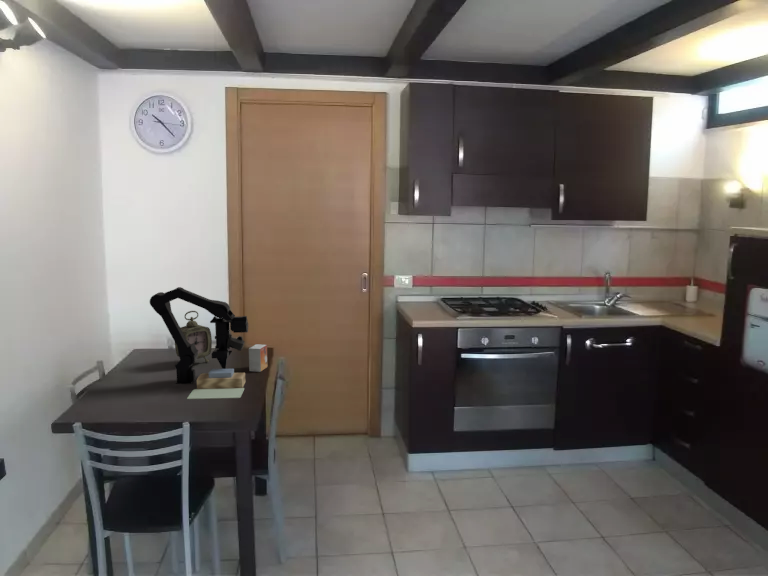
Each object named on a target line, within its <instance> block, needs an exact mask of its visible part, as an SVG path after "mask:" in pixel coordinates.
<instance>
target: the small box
mask: <svg viewBox="0 0 768 576" xmlns="http://www.w3.org/2000/svg"><path fill="white" fill-rule="evenodd" d="M267 368H268V345H267V344H258V343H257V344H256V343H255V344H254V345H253V346H250V347H249V348H248V369H249V372H257V373H259V372H260V373H261V372H262V371H263V370H265V369H267Z"/></svg>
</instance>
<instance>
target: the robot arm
mask: <svg viewBox="0 0 768 576" xmlns="http://www.w3.org/2000/svg"><path fill="white" fill-rule="evenodd" d="M177 299H180V300H182V301H184V302H187V303H190V304H192V305H195V306H197V307H200V308H201V309H204V310H206V311H207V312H208V313H210V314H211V315H212V316H213V317H212V319H211V320H210V321H209V323H210V324H214V326H215V328H214V329H215V336H214V339H215V346H214V350H213V351H211V352H212V353H211V359H216V360H217V362H218V363H219V365H220V367H221V369H227V364H228V358H229V356H230V355H231V354H232V352H233V350H230V349H231V348H232V349H234V350H237V351H239V352H240V351H242V350H243V348H244V345H245V340H244V339H243V338H244V337H243V336H240V335H238V336H237V337H233V336H232V334H231V332H233V333H235V334H237V333H249V321H248V316H247V315H241V316H236V315H235V314H234V312H233V311H232V310H231V307H230V305H229V304H228V303H227V302H226V301H221V300H214V299H209V298H207V297H205V296H203V295H199V294H197V293H194V292H192V291H190V290H187V289H184V287H181V286H180V287H176V288H175V289H172V290H169V291H166V292H160V291H159V292H158V293H155V294H153V295H152V296H151V297H150V299H149V305H150V307H151V308H152V309H153V311H154V312H155V313H156V314H158V315H159V316H160V317H161V319H162V321H163V323H164V324H165V326H166V328H167V330H168V332H169V334H170V335H171V337H172V339H173V341H174V344H175V343H176V345H177V348H178V354H179V361H178V362H177V363H175V365H174V367H175V370H176V382H175V384H177V385H178V384H179V385H180V384H182V385H183V384H193V382H194V381H195V380H196V370H195V369H194V363H195V361H197V360H198V359H197V357H198V350H197V349H196V347H195V344H194V343H192V344H190V343H189V342H188V341H187V340H186V338H185V336H184V334H183V332H182V330H181V328H180V327H181V326H180V324H179V323H178V321H177V319H176V317H175V315H174V313H173V312H172V311H173V310H172V305H171V302H172V301H174V300H177ZM230 330H231V331H230Z"/></svg>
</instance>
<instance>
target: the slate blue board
mask: <svg viewBox="0 0 768 576" xmlns="http://www.w3.org/2000/svg"><path fill="white" fill-rule="evenodd" d="M208 373H209V378H232V376H233V374H234V373H235V368H226V369H222V368H211V370H210V371H209V372H208Z"/></svg>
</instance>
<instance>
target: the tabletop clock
mask: <svg viewBox="0 0 768 576" xmlns="http://www.w3.org/2000/svg"><path fill="white" fill-rule="evenodd" d="M191 313H196V317H193V316H191V317H190V318H186V317H187V316H188V314H191ZM198 317H199V313H198V311H196V310H190V311H187V312H186V313H185V314H184V319H185V320H186V321H187V323H186V325H184V326H180V328H181V330H182V332H183V334H184V336H185V338H186V340H187V341H188V342H189V343H190V344H192V343H194V344H195V347H196V349H197V350H198V357H197V359H196V360H198V359H202V358H203V359H204V362H205V363H209V359H208V358H206V357H207V356H209V355H211V354H212V353H211V352H212V346H213V345H212V341H213V340H212V332H211V329H210V327H208V326H204V325H202V324H201V325H200V324H198V322H197V321H196V319H198ZM174 349H175V353H176V355H177V357H179V354H178V348H177V345H176V343H175V342H174ZM179 358H180V357H179Z"/></svg>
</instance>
